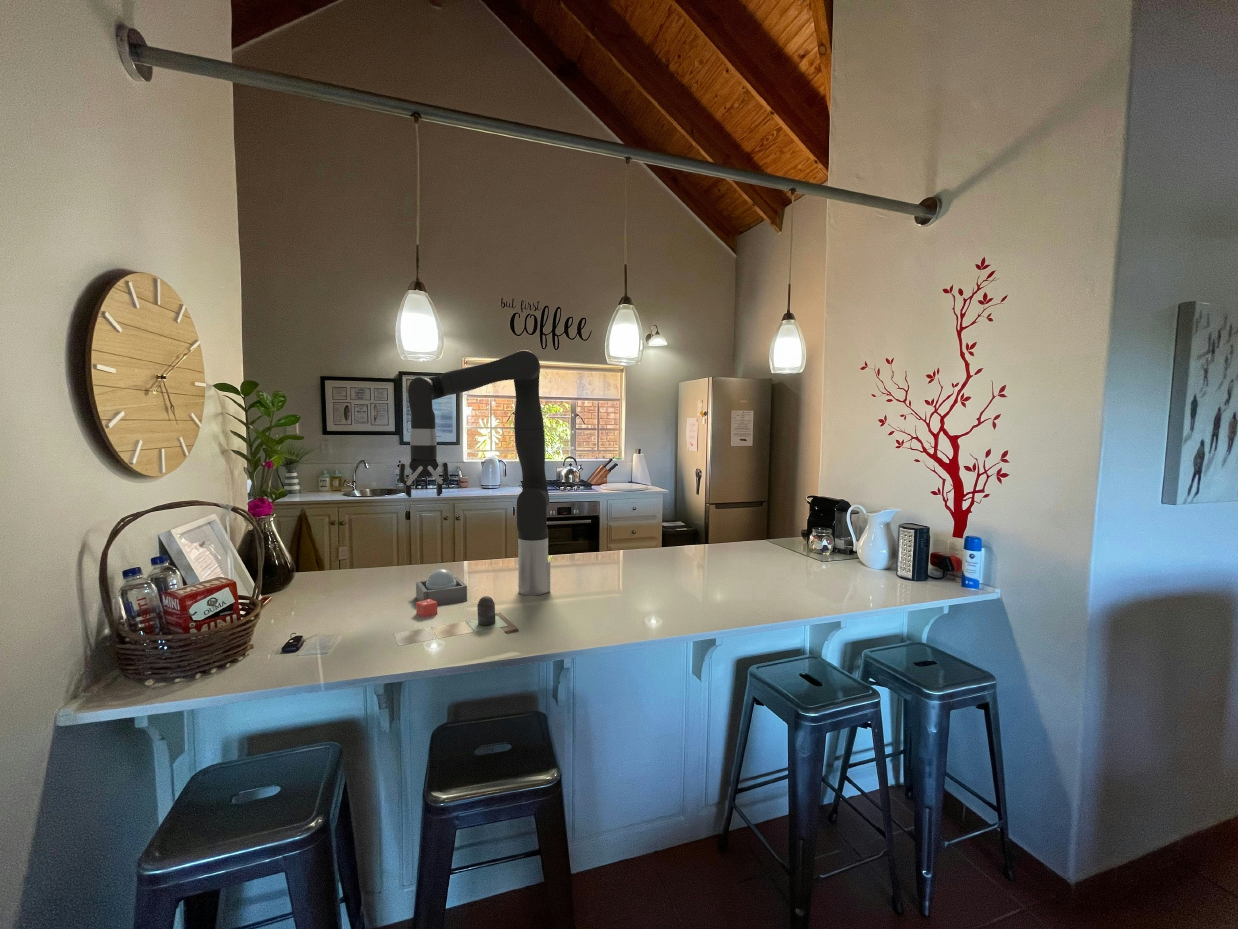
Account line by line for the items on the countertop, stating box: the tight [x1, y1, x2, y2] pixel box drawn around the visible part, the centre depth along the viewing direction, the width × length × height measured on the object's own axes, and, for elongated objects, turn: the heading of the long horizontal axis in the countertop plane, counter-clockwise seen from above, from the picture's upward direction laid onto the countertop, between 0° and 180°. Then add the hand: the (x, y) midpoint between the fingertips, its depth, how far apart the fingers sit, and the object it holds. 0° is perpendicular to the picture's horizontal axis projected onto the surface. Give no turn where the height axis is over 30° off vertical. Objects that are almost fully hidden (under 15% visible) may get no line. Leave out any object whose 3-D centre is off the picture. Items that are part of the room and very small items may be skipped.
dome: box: [426, 568, 456, 591], centre depth 164 cm, size 9×9×8 cm
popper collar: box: [415, 576, 468, 607], centre depth 164 cm, size 12×12×4 cm
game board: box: [392, 611, 520, 646], centre depth 137 cm, size 30×14×1 cm, turn 121°
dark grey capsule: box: [476, 595, 496, 626], centre depth 142 cm, size 4×4×7 cm
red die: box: [415, 599, 438, 618], centre depth 148 cm, size 4×4×4 cm
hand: (424, 496), depth 167 cm, fingers open, 8 cm apart
